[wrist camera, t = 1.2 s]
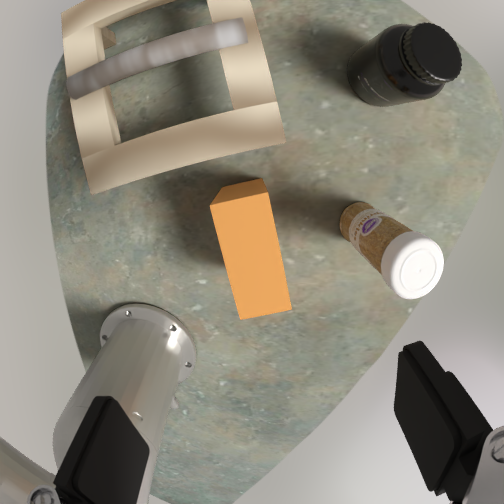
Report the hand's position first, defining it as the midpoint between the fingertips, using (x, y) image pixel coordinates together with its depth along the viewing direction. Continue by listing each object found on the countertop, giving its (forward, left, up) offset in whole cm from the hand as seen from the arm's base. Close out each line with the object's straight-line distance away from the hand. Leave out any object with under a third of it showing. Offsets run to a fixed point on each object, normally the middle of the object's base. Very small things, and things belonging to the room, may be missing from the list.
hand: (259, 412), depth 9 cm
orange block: (0, 0, -24) cm, 24 cm away
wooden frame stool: (+16, +4, -24) cm, 29 cm away
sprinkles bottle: (-2, -11, -24) cm, 27 cm away
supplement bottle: (+13, -16, -24) cm, 32 cm away
